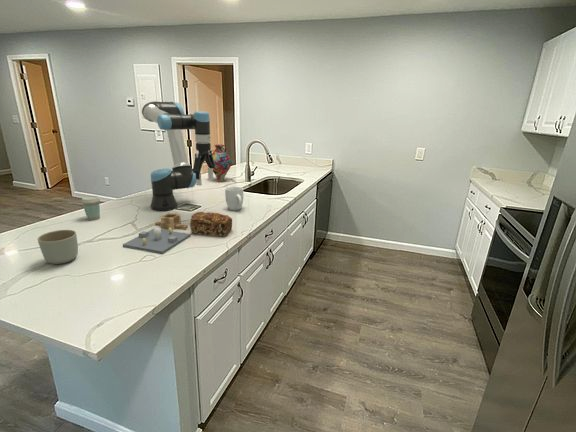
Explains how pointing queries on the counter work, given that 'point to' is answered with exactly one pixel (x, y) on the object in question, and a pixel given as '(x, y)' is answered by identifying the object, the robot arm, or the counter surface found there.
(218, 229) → the bread
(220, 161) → the vase
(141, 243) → the post base
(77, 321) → the counter surface
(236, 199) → the mug
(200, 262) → the counter surface
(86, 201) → the coffee cup
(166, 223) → the wooden frame with handle
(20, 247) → the counter surface
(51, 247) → the planter
